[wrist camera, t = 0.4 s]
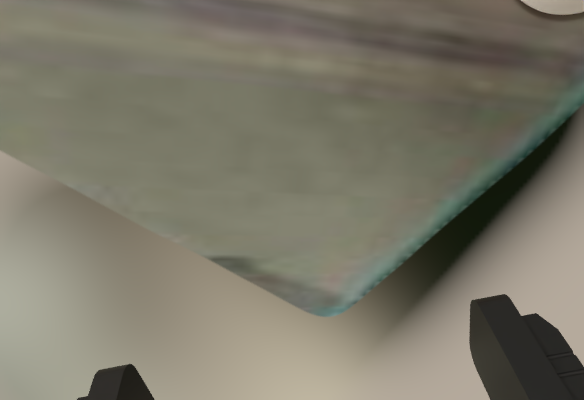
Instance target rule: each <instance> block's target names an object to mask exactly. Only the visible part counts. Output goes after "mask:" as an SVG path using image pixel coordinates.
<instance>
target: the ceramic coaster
mask: <svg viewBox="0 0 584 400" xmlns="http://www.w3.org/2000/svg"><path fill="white" fill-rule="evenodd" d="M520 1H522V2H523V3H525V4H526V5H528V6H530V7H532V8H534V9H536V10H538V11H541V12H545V13H548V14H556V15H570V14H576V13H581V12H584V0H520Z"/></svg>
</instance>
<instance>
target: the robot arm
mask: <svg viewBox="0 0 584 400" xmlns="http://www.w3.org/2000/svg"><path fill="white" fill-rule="evenodd" d="M470 350H471V354H472V358H473V361H474V364H475V367H476V369H477V372H478V374H479V376H480V378H481V380H482V382H483V384H484V387H485V388H486V391H487V393H488V395H489V397H490V400H584V367H583V365H582V364H581V362H580V361H579V359H578V358H577V356H576V355H574V354H573V351H572V349H571V348H570V346H569V345H568V343H567V342H566V340H565V339H564V337H563V336H562V335H561V333H560V332H559V330H558V329H557V328H555V327H554V326H553V325H551V324H550V323H549V322H547V321H546V320H544V319H543V318H542V317H540V316H539V315H538V314H536V313H535V314H530V315H525V316H521V315H520V314H519V312H518V310H517V309H516V307H515V306H514V304H513V302H512V301H511V299H510V298H509V297H508V296H507V295H505V294H503V295H497V296H492V297H487V298H481V299H476V300H472V301H471V304H470ZM77 400H154V398H153V397H152V394H151V393H150V391H149V389H148V388H147V386H146V385H145V383H144V381H143V380H142V378H141V376H140V375H139V373H138V371H137V370H136V368H135V367H134V366H133V365H132V364H128V365H123V366H117V367H113V368H108V369H102V370H99V371H98V372H97V373H96V374H95V376H94V379H93V382H92V385H91V388H90V391H89V394H88V396H86V397H81V398H78V399H77Z"/></svg>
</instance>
